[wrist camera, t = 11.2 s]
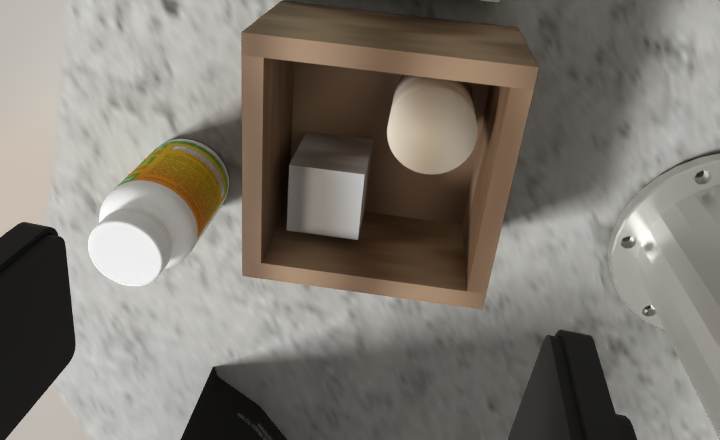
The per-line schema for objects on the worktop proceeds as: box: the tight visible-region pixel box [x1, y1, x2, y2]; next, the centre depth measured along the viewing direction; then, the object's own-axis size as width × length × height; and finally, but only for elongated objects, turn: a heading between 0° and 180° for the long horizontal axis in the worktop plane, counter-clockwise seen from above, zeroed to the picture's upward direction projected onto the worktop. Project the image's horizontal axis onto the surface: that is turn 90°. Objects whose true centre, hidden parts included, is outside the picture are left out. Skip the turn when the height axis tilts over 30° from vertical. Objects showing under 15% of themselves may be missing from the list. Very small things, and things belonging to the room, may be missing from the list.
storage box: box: [242, 1, 539, 309], centre depth 34 cm, size 13×13×8 cm
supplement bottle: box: [88, 139, 229, 286], centre depth 36 cm, size 5×5×10 cm
